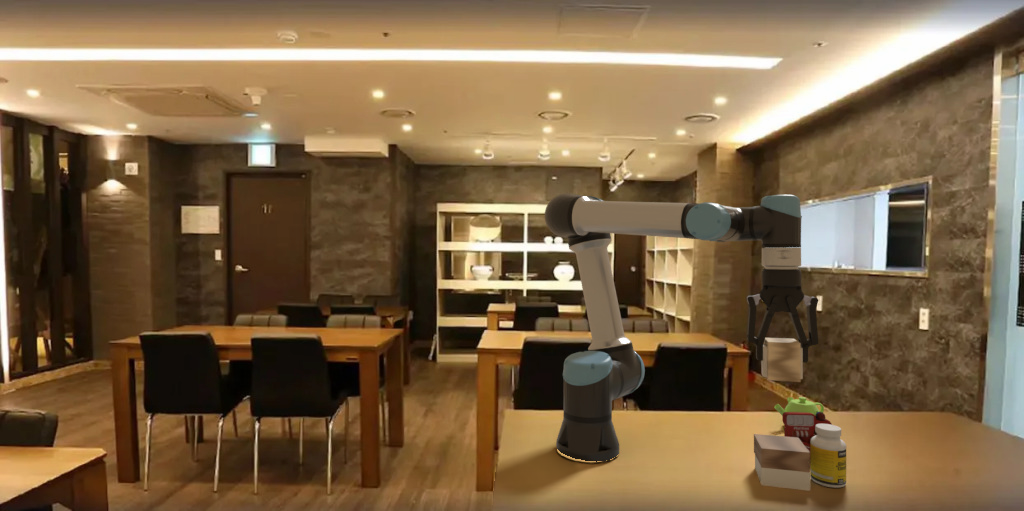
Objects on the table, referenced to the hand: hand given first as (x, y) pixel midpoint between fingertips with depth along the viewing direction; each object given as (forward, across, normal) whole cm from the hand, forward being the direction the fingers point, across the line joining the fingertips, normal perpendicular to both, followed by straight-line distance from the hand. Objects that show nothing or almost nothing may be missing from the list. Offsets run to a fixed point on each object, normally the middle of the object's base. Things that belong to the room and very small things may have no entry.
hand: (781, 376), depth 111 cm
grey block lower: (+22, 0, 0) cm, 22 cm away
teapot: (+22, +11, +37) cm, 45 cm away
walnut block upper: (+18, 0, 0) cm, 18 cm away
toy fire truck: (+22, +9, +16) cm, 29 cm away
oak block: (0, 0, 0) cm, 0 cm away
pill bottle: (+22, +9, +1) cm, 24 cm away
